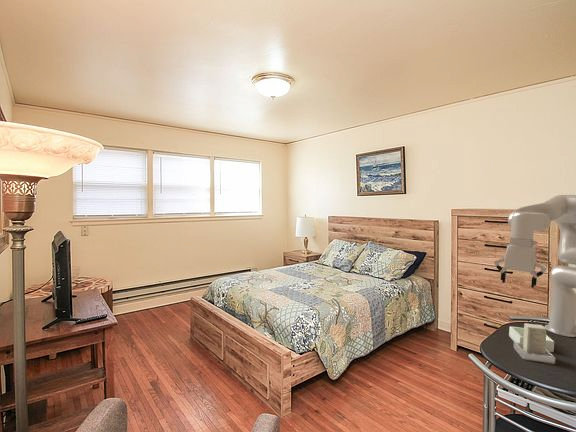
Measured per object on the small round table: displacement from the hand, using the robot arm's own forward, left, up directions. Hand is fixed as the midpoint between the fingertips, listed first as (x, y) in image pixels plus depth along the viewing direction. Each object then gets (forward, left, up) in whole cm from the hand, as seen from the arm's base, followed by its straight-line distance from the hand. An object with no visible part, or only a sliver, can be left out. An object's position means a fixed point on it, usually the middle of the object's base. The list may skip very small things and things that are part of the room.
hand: (517, 284), depth 130 cm
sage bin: (-10, -10, -28) cm, 31 cm away
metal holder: (-6, +2, -28) cm, 28 cm away
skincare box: (-6, +2, -28) cm, 29 cm away
